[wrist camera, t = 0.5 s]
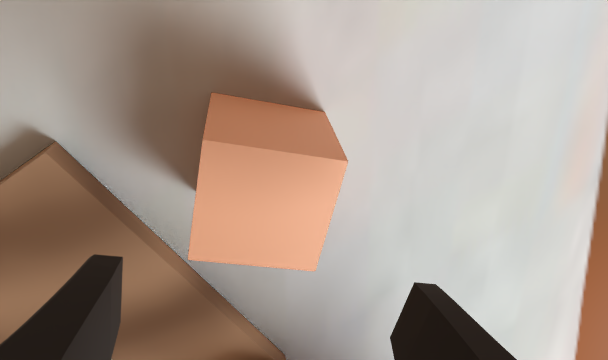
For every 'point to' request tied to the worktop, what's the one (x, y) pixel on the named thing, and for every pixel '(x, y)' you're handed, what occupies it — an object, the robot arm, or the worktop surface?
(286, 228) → the cube
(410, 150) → the worktop surface
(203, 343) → the arena
